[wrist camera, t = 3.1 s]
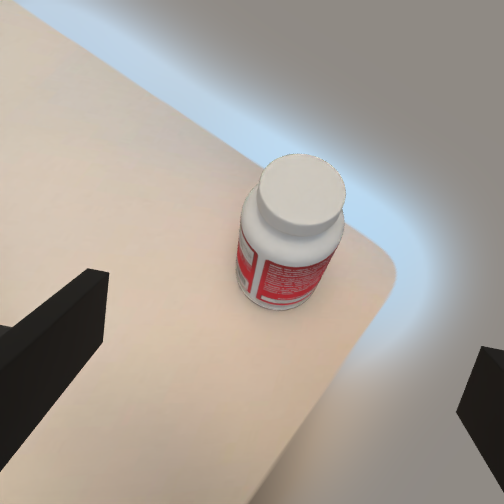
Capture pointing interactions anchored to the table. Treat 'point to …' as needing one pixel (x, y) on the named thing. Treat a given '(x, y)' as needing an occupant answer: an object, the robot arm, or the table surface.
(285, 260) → the pill bottle
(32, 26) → the table surface
